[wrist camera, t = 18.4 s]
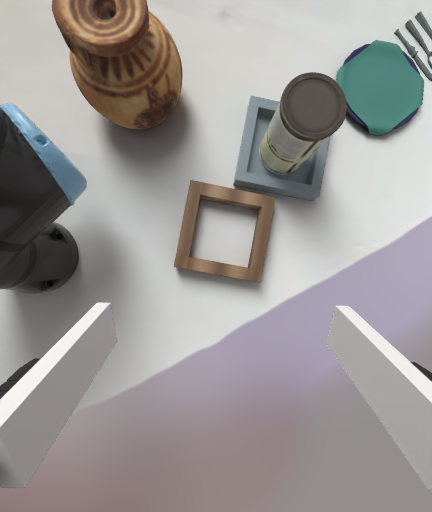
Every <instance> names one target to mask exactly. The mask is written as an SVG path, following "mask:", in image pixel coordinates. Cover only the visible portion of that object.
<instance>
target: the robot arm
mask: <svg viewBox="0 0 432 512" xmlns="http://www.w3.org/2000/svg"><path fill="white" fill-rule="evenodd" d="M85 189H86V179H85V177H84V176H83V174H82V173H81V172H80V171H79V170H78V169H77V168H76V167H75V165H74V164H73V163H72V162H71V161H70V160H69V159H68V158H67V157H66V156H65V155H64V154H63V153H62V152H61V151H60V150H59V149H58V148H57V147H56V146H55V145H54V143H53V142H52V141H51V140H50V139H49V138H48V137H47V136H46V135H45V134H44V133H43V132H42V131H41V130H40V129H39V128H38V127H37V126H36V125H35V124H34V123H33V122H32V121H31V120H30V119H29V118H28V117H27V116H26V115H25V114H24V113H23V112H22V111H21V110H20V109H19V108H18V107H17V106H16V105H14V104H12V103H7V104H6V105H4V104H1V105H0V289H9V290H14V291H19V292H24V293H40V292H46V291H50V290H53V289H56V288H58V287H60V286H61V285H63V284H64V283H65V282H67V281H68V280H69V278H70V277H71V276H72V274H73V273H74V271H75V269H76V266H77V262H78V249H77V245H76V242H75V240H74V238H73V236H72V235H71V234H70V232H69V231H68V230H67V229H65V228H64V227H63V226H61V225H60V224H58V223H55V222H54V221H55V220H56V219H57V218H58V217H59V216H60V215H61V214H62V213H63V212H64V211H65V210H66V209H67V208H68V207H70V206H71V205H74V201H75V200H76V199H77V198H78V197H79V196H80V195H81V194H82V193H83V191H84V190H85ZM116 342H117V339H116V333H115V327H114V321H113V315H112V309H111V303H96V304H95V305H94V306H93V307H92V308H91V309H90V310H89V311H88V312H87V313H86V314H85V315H84V316H83V317H82V318H81V319H80V320H79V321H78V322H77V323H76V324H75V325H74V326H73V327H72V328H71V329H70V330H69V331H68V332H67V333H66V334H65V335H64V336H63V337H62V338H61V339H60V340H59V341H58V342H57V343H56V344H55V345H54V346H53V347H52V348H51V349H50V350H49V351H48V352H47V353H46V354H45V355H44V356H43V357H42V358H41V359H33V360H32V361H30V362H28V363H27V364H25V365H24V366H22V367H21V368H19V369H18V370H17V371H16V372H15V373H14V374H13V375H12V376H11V377H10V378H9V379H8V380H7V382H4V383H3V384H2V385H1V386H0V487H1V488H25V487H26V485H27V484H28V482H29V481H30V479H31V477H32V476H33V474H34V473H35V471H36V470H37V468H38V466H39V465H40V463H41V462H42V460H43V459H44V457H45V455H46V454H47V452H48V450H49V449H50V447H51V446H52V444H53V443H54V441H55V439H56V438H57V436H58V435H59V433H60V431H61V430H62V428H63V426H64V425H65V423H66V422H67V420H68V419H69V417H70V415H71V414H72V412H73V411H74V409H75V407H76V406H77V404H78V403H79V401H80V400H81V398H82V396H83V395H84V393H85V392H86V390H87V388H88V387H89V385H90V384H91V382H92V380H93V379H94V377H95V376H96V374H97V372H98V371H99V369H100V368H101V366H102V364H103V363H104V361H105V360H106V358H107V356H108V355H109V353H110V352H111V350H112V348H113V347H114V345H115V344H116ZM327 345H328V347H329V348H330V350H331V351H332V352H333V354H334V355H335V357H336V358H337V360H338V361H339V362H340V364H341V365H342V367H343V368H344V370H345V371H346V372H347V374H348V375H349V377H350V378H351V380H352V381H353V382H354V384H355V385H356V387H357V388H358V390H359V391H360V392H361V394H362V395H363V397H364V398H365V400H366V401H367V403H368V404H369V405H370V407H371V408H372V410H373V411H374V413H375V414H376V415H377V417H378V418H379V420H380V421H381V422H382V424H383V425H384V427H385V428H386V430H387V431H388V433H389V434H390V435H391V437H392V438H393V440H394V441H395V443H396V444H397V446H398V447H399V448H400V450H401V451H402V453H403V454H404V455H405V457H406V458H407V460H408V461H409V463H410V464H411V466H412V467H413V468H414V470H415V471H416V473H417V474H418V476H419V477H420V478H421V480H422V481H423V483H424V484H425V486H426V487H427V488H428V490H429V491H432V373H431V372H430V371H428V370H426V369H425V368H423V367H422V366H420V365H418V364H417V363H415V362H409V361H408V360H407V359H406V358H405V357H404V356H403V355H402V354H400V353H399V352H398V351H397V350H396V349H395V348H394V347H393V346H392V345H391V344H390V343H388V342H387V341H386V340H385V339H384V338H383V337H382V336H381V335H380V334H379V333H377V332H376V331H375V330H374V329H373V328H372V327H371V326H370V325H369V324H368V323H367V322H365V321H364V320H363V319H362V318H361V317H360V316H359V315H358V314H357V313H356V312H355V311H353V310H352V309H351V308H350V307H349V306H336V307H335V311H334V315H333V319H332V323H331V328H330V332H329V336H328V340H327Z"/></svg>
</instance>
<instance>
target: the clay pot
mask: <svg viewBox="0 0 432 512" xmlns="http://www.w3.org/2000/svg"><path fill="white" fill-rule="evenodd" d="M52 11H53V14H54V18H55V20H56V23H57V25H58V27H59V29H60V31H61V33H62V36H63V38H64V40H65V42H66V44H67V45H68V47H69V49H70V64H71V69H72V73H73V76H74V79H75V81H76V83H77V86H78V87H79V89H80V91H81V93H82V94H83V96H84V97H85V98H86V100H87V101H88V102H89V103H90V105H91V106H92V107H93V108H94V109H95V110H97V111H98V112H99V113H100V114H101V115H103V116H104V117H105V118H107V119H108V120H110V121H112V122H113V123H115V124H118V125H120V126H123V127H126V128H130V129H147V128H151V127H154V126H156V125H158V124H160V123H161V122H163V121H164V120H165V119H166V118H167V117H168V116H169V115H170V114H171V112H172V111H173V109H174V108H175V106H176V104H177V102H178V99H179V96H180V93H181V87H182V64H181V59H180V56H179V53H178V50H177V47H176V45H175V43H174V41H173V38H172V37H171V35H170V33H169V32H168V30H167V29H166V27H165V26H164V25H163V24H162V23H161V21H160V20H159V19H158V18H157V17H156V16H154V15H153V14H152V13H150V12H149V11H148V6H147V1H146V0H53V1H52Z"/></svg>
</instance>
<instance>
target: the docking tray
mask: <svg viewBox="0 0 432 512" xmlns="http://www.w3.org/2000/svg"><path fill="white" fill-rule="evenodd" d="M278 104H279V102H278V101H273V100H269V99H264V98H260V97H255V96H251V98H250V101H249V105H248V110H247V115H246V120H245V126H244V131H243V136H242V142H241V147H240V152H239V158H238V163H237V168H236V174H235V179H234V184H233V185H238V186H243V187H248V188H252V189H257V190H262V191H267V192H272V193H277V194H282V195H287V196H292V197H297V198H302V199H306V200H311V201H312V200H314V199H316V198H317V197H319V194H320V189H321V183H322V177H323V172H324V166H325V160H326V155H327V149H328V143H329V138H330V136H329V137H328V138H327V139H326V140H325V141H324V142H323V143H322V145H321V146H320V147H319V148H318V149H317V150H316V151H315V152H314V153H313V154H312V155H311V156H310V157H309V158H308V159H307V160H306V161H305V162H304V163H303V164H302V165H301V166H300V167H299V168H298V169H297V170H296V171H295V172H293V173H291V174H287V175H278V174H274V173H272V172H270V171H269V170H268V169H267V168H266V167H265V166H264V165H263V163H262V162H261V159H260V155H259V148H260V144H261V141H262V140H263V138H264V136H265V134H266V131H267V129H268V127H269V125H270V123H271V120H272V118H273V116H274V113H275V111H276V109H277V107H278Z"/></svg>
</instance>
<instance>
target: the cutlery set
mask: <svg viewBox="0 0 432 512" xmlns="http://www.w3.org/2000/svg"><path fill="white" fill-rule="evenodd" d="M415 18H416V19H417V20H418V21H419V22H420V24H421V25H422V27H423V29H424V30H425V31H426V33H427V34H428V35H429V37H430V38H431V39H432V30H431V28H430V27H429V25H428V23H427V21H426V19H425V17H424V16H423V14H422V12H419V13H418V14H417V15H416V16H415ZM405 25H406V26H407V27H408V28H409V29H410V30H411V32H412V33H413V34H414V35H415V37H416V38H417V39H418V41H419V42H420V44H421V45H422V47H423V48H424V50H425V52H426V53H427V55H428V63H429V65H430V67H431V68H432V64H431V62H430V60H429V57H430V56H432V52H429V50H428V48H427V46H426V44H425V43H424V41H423V39H422V37H421V35H420V34H419V32H418V31H417V29H416V27H415V26H414V24H413V23H412V21H411V20H409V21H408V22H407V23H406V24H405ZM395 33H397V35H398V36H399V37H400V38H401V39H402V40H403V42H404V43H405V44H406V46H407V47H408V51H409V53H411V55H412V56H411V57H414V59H415V61H416V62H417V64H418V66H419V67H420V68H421V70H422V71H423V72H424V74H425V75H426V76H427V78H428V79H430V80H431V81H432V74H431V73H430V71H429V70H428V69H427V67H426V66H425V65H424V63H423V62H422V61H421V59H420V58H419V57H418V55H417V53H418V51H417V52H416V51H415V47H413V46H411V45H410V44H409V43H408V42H407V41H406V40H405V39H404V38H403V36H402V35H401V33H400V32H399V29H397V30H396V32H395ZM336 81H337V83H338V84H339V86H340V87H341V89H342V90H343V92H344V95H345V97H346V101H347V113H348V114H349V115H350V116H351V117H352V118H353V119H354V120H355V121H357V122H358V123H359V124H361V125H363V126H365V127H367V128H368V129H369V133H370V134H374V135H383V134H385V133H387V132H389V131H390V130H391V129H396V128H398V127H400V126H401V125H403V124H405V123H407V122H408V121H409V120H410V119H411V118H412V117H413V116H414V114H415V113H416V112H417V110H418V107H420V106H421V105H422V100H423V91H424V89H423V88H424V80H423V78H422V77H421V75H420V73H419V71H418V69H417V67H416V65H415V64H414V62H413V60H412V59H411V58H410V57H409V56H408V55H407V54H406V53H405V52H404V51H402V50H401V48H400V47H399V46H398V45H397V44H394V43H390V42H384V41H378V40H375V41H374V42H373V43H372V44H366V45H364V46H362V47H360V48H358V49H356V50H354V51H353V52H352V53H351V54H350V56H349V57H348V58H347V59H346V60H345V62H344V64H343V66H342V67H341V68H340V69H339V70H338V72H337V79H336Z"/></svg>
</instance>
